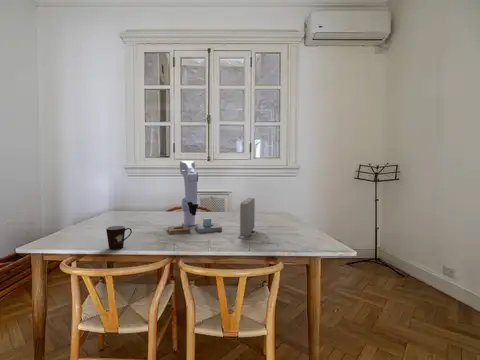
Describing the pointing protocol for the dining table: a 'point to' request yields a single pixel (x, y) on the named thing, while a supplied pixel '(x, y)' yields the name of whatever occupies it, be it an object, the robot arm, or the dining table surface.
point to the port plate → (208, 228)
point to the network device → (247, 218)
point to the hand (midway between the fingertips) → (192, 214)
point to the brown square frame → (178, 229)
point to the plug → (206, 222)
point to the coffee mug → (116, 236)
